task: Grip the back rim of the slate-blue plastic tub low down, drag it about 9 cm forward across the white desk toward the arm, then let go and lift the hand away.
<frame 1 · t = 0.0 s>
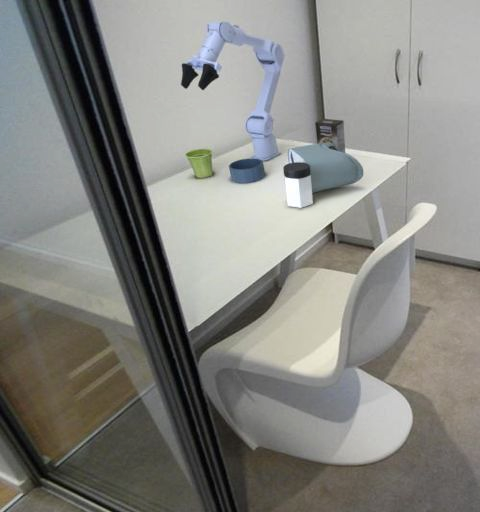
hand: (192, 87, 141), 32 cm above the table, tool tilted 50°, fingers open, 7 cm apart
grey-blue rounded tapered piece: (327, 183, 153), on the table, touching jar
tub: (248, 176, 160), on the table
plant pot: (204, 175, 163), on the table
jar: (300, 203, 139), on the table, touching grey-blue rounded tapered piece
coffee box: (332, 162, 171), on the table
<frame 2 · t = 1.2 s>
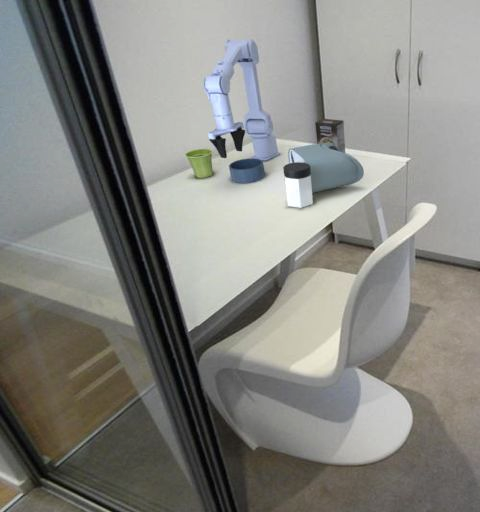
hand: (231, 154, 150), 10 cm above the table, tool pointing down, fingers open, 7 cm apart
grey-blue rounded tapered piece: (327, 183, 153), on the table, touching jar
everything else where it was.
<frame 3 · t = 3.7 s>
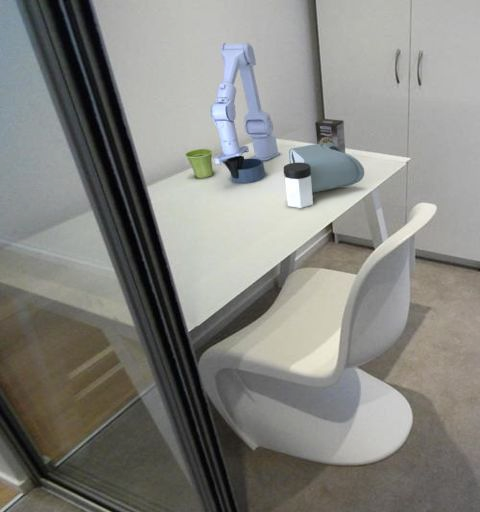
hand: (237, 177, 155), 2 cm above the table, tool pointing down, fingers closed on tub
grey-blue rounded tapered piece: (328, 184, 152), on the table, touching jar
tub: (248, 176, 160), on the table, touching gripper
everything else where it was.
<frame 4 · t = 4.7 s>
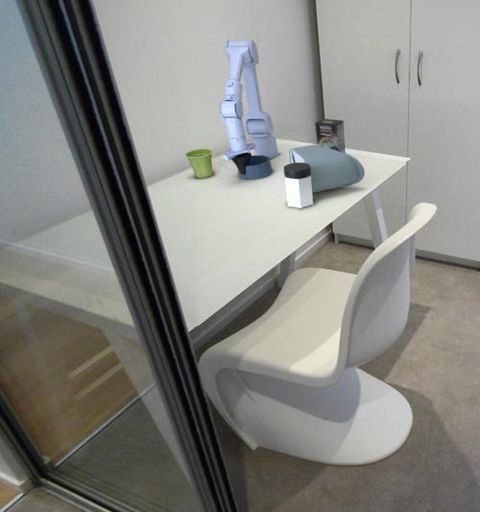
hand: (244, 173, 158), 2 cm above the table, tool pointing down, fingers closed on tub
grey-blue rounded tapered piece: (328, 184, 152), on the table, touching jar
tub: (255, 173, 163), on the table, touching gripper
everything else where it was.
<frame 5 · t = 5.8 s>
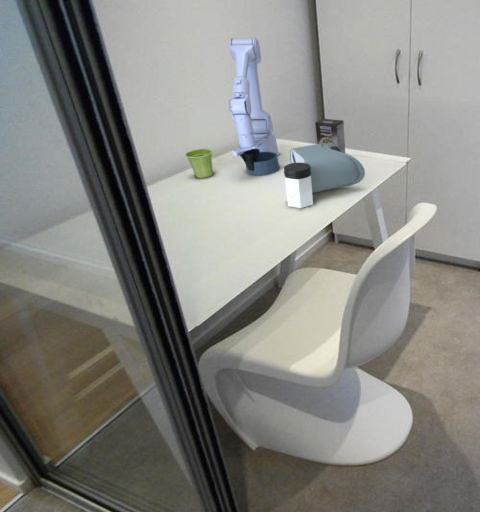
hand: (252, 169, 161), 2 cm above the table, tool pointing down, fingers closed on tub
tub: (263, 169, 166), on the table, touching gripper
everything else where it was.
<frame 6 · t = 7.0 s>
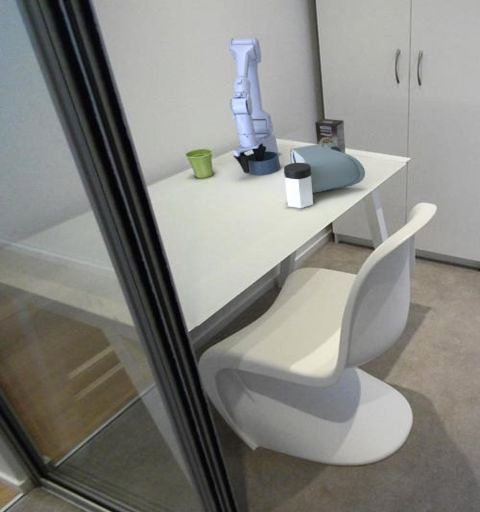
hand: (253, 169, 161), 2 cm above the table, tool pointing down, fingers open, 7 cm apart
tub: (264, 169, 167), on the table
everything else where it was.
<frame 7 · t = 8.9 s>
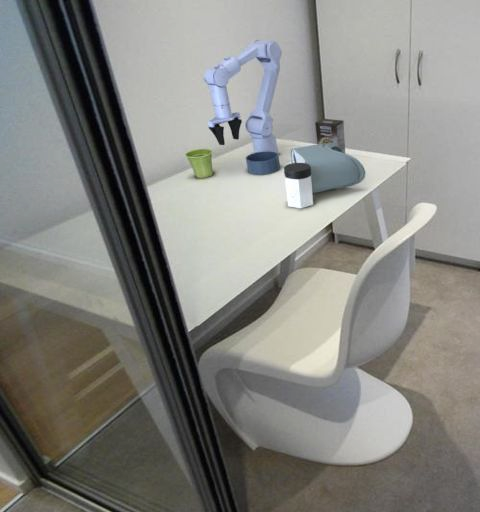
hand: (229, 141, 163), 10 cm above the table, tool pointing down, fingers open, 7 cm apart
nothing on the table moved.
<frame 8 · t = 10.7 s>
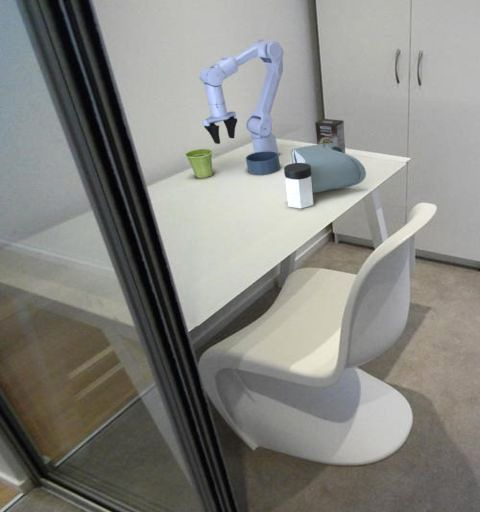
hand: (224, 140, 164), 10 cm above the table, tool pointing down, fingers open, 7 cm apart
nothing on the table moved.
at the end: tub 0.1 cm from the target spot, on the table; tub tilted 0°; the gripper is holding nothing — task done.
